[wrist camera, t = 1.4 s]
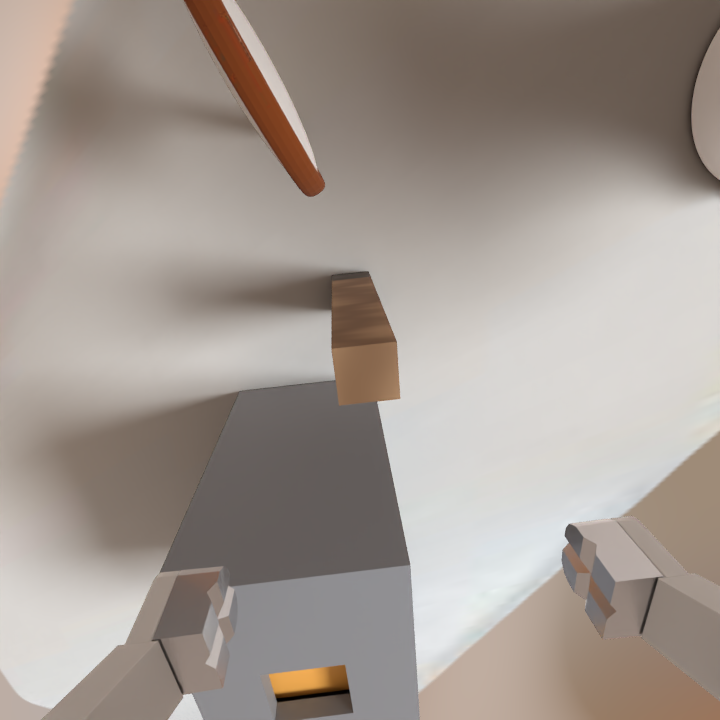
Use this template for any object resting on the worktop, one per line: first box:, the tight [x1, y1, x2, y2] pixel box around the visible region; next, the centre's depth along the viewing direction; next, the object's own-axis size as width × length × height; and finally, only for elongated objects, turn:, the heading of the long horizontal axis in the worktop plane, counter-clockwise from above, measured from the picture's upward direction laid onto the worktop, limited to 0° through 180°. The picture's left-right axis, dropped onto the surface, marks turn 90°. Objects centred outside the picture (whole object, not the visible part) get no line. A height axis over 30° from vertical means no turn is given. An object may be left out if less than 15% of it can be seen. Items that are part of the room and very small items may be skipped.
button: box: [269, 665, 349, 699], centre depth 25 cm, size 6×6×2 cm
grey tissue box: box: [160, 381, 420, 720], centre depth 32 cm, size 12×18×20 cm, turn 5°
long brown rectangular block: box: [332, 272, 400, 406], centre depth 27 cm, size 3×3×16 cm
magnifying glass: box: [184, 0, 325, 197], centre depth 20 cm, size 9×2×20 cm, turn 29°
